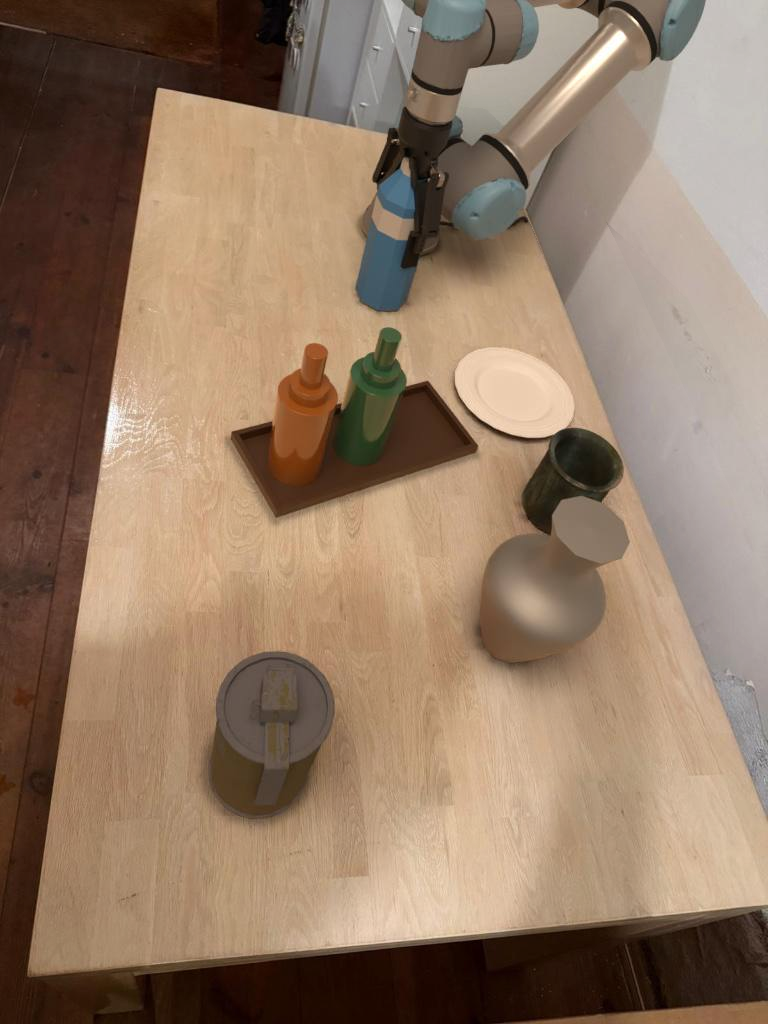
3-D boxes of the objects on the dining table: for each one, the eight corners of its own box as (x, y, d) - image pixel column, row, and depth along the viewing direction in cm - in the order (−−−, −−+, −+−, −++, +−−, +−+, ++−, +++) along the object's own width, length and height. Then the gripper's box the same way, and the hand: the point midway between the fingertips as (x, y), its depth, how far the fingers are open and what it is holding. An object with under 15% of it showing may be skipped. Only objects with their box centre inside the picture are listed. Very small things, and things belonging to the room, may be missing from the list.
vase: (531, 715, 90) (631, 616, 70) (431, 647, 92) (501, 533, 73) (575, 631, 98) (674, 522, 79) (482, 571, 101) (557, 451, 81)
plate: (583, 390, 129) (588, 382, 127) (551, 465, 116) (556, 457, 114) (476, 337, 131) (479, 329, 129) (432, 406, 118) (435, 397, 116)
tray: (424, 389, 120) (428, 380, 118) (474, 454, 114) (478, 445, 112) (230, 441, 104) (231, 431, 103) (275, 520, 98) (277, 510, 97)
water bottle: (408, 285, 135) (447, 152, 115) (404, 317, 129) (444, 183, 110) (358, 272, 134) (389, 136, 114) (352, 304, 128) (383, 166, 109)
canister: (211, 719, 81) (220, 635, 65) (306, 720, 83) (337, 638, 67) (205, 825, 74) (213, 759, 59) (308, 822, 77) (343, 758, 61)
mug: (577, 483, 115) (613, 431, 106) (599, 562, 106) (640, 513, 97) (511, 476, 113) (542, 422, 103) (528, 557, 104) (563, 506, 95)
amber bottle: (305, 438, 107) (329, 324, 91) (330, 477, 104) (359, 365, 87) (257, 452, 104) (273, 335, 87) (281, 492, 100) (302, 379, 84)
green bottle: (367, 421, 112) (400, 309, 96) (393, 457, 109) (431, 348, 92) (323, 433, 108) (350, 320, 92) (348, 471, 105) (380, 361, 89)
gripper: (369, 75, 110) (342, 212, 127) (448, 157, 100) (408, 292, 118) (410, 73, 113) (379, 207, 131) (491, 152, 104) (446, 285, 121)
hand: (393, 247), depth 124 cm, fingers closed on water bottle, 9 cm apart
